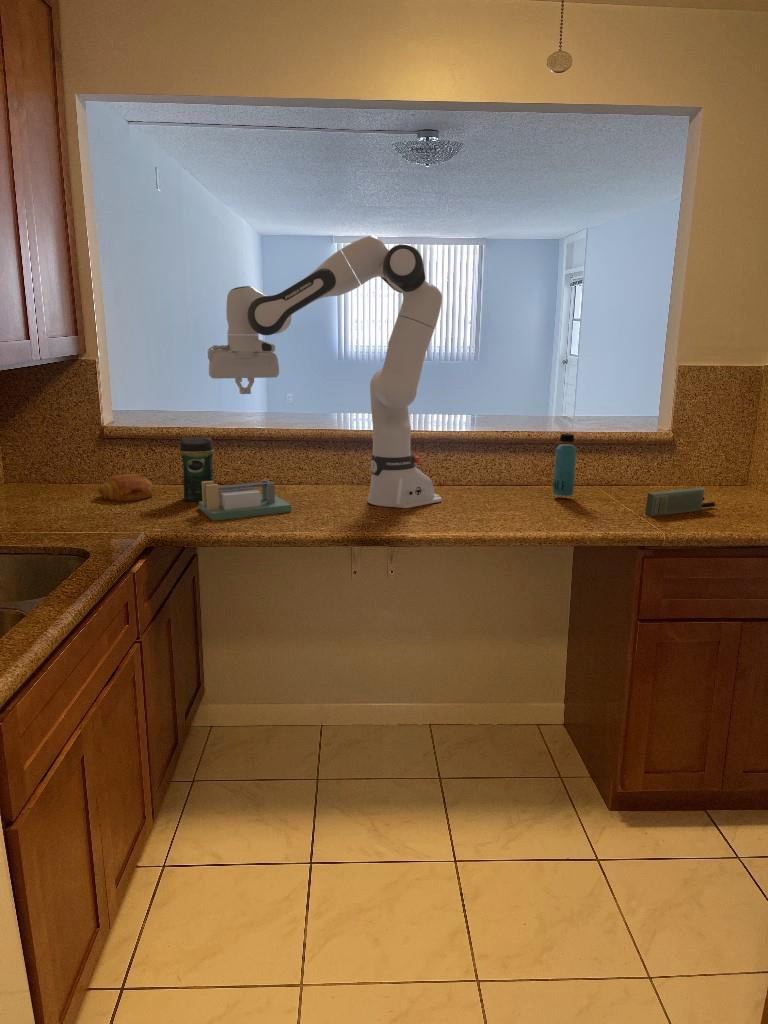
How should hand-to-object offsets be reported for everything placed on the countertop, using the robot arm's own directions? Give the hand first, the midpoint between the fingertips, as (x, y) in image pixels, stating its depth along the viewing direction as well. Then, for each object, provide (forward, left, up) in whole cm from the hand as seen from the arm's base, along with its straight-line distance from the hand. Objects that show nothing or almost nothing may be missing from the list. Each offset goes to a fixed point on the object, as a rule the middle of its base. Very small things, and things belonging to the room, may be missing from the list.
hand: (245, 393), depth 203 cm
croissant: (+33, -16, -32) cm, 48 cm away
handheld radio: (-106, +70, -32) cm, 131 cm away
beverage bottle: (-86, +43, -31) cm, 101 cm away
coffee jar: (+14, -4, -31) cm, 34 cm away
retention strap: (+7, +15, -25) cm, 30 cm away
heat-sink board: (+6, +15, -31) cm, 35 cm away
